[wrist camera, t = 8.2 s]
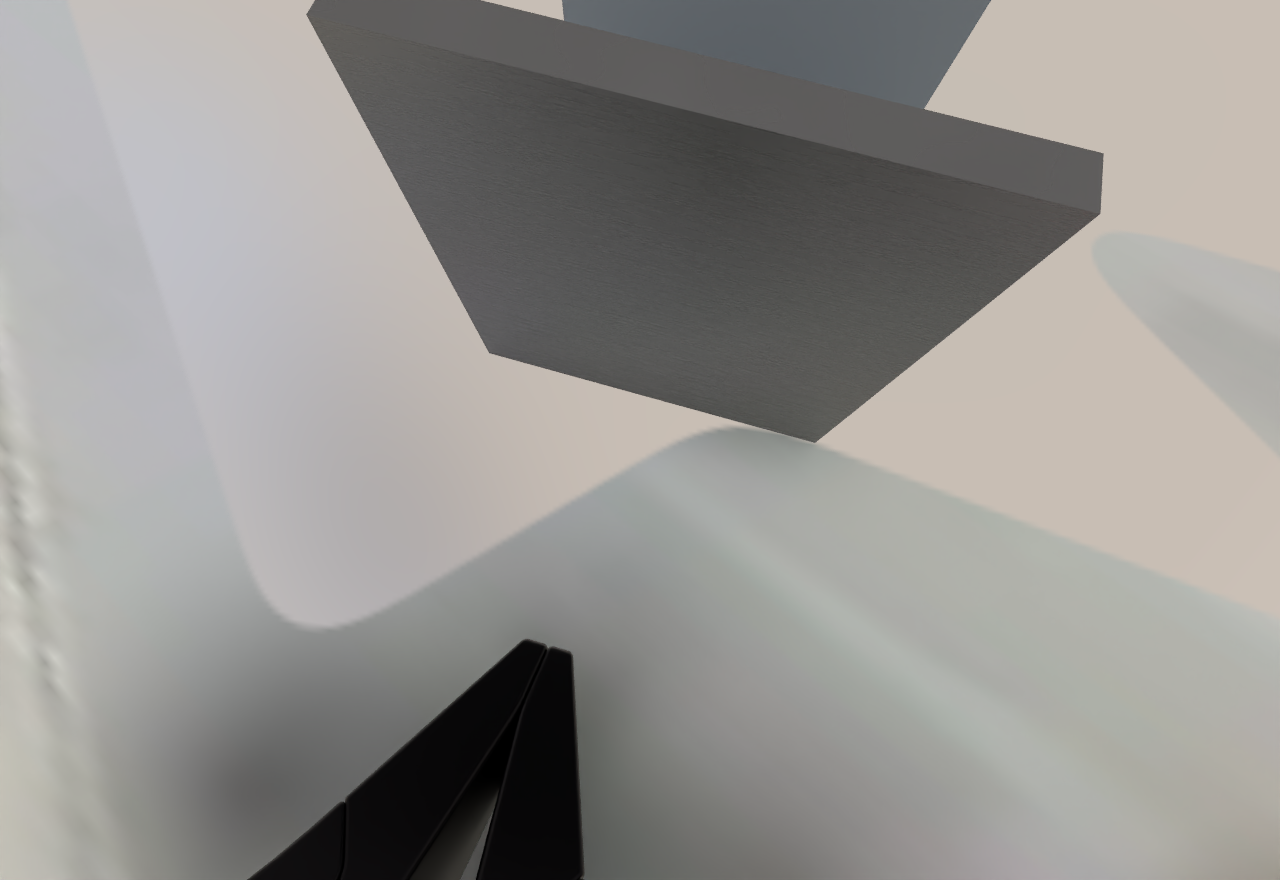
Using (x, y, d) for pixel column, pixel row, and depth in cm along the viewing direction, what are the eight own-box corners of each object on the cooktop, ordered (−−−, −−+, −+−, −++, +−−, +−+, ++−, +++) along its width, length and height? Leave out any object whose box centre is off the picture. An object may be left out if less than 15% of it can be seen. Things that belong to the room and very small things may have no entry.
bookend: (814, 443, 18) (1100, 213, 7) (489, 353, 18) (306, 13, 8) (864, 193, 20) (1124, -240, 10) (580, 121, 21) (538, -364, 10)
